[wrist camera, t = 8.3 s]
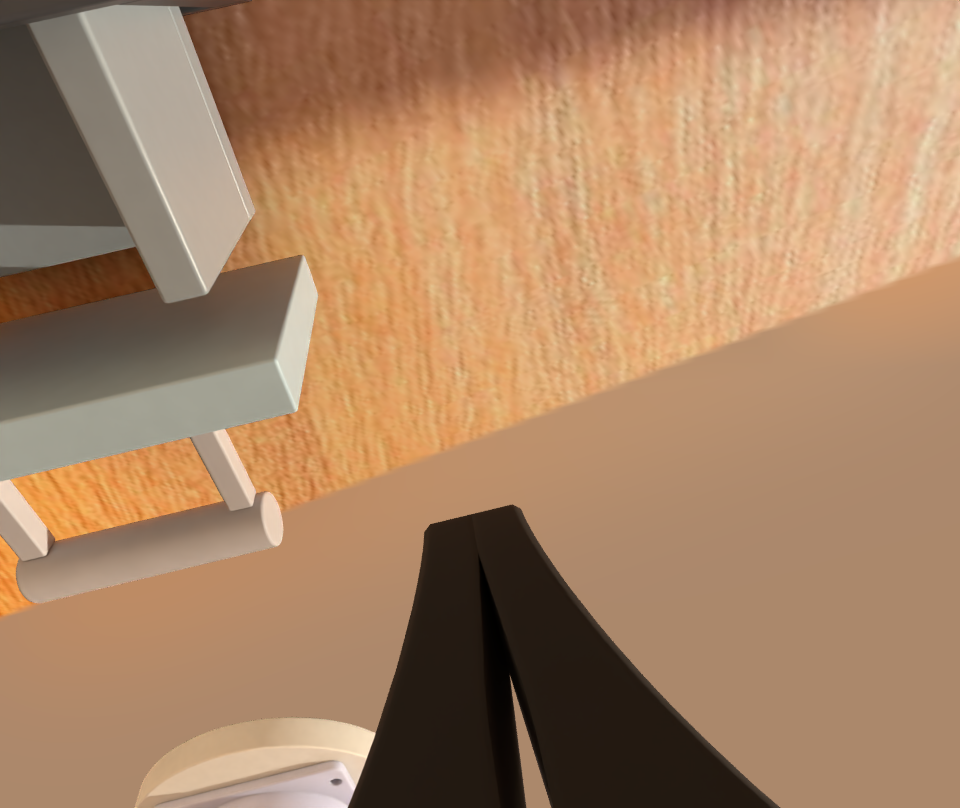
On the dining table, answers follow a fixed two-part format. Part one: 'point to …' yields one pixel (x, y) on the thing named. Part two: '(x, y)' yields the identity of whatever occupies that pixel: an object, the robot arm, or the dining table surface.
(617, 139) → the dining table surface
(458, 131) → the dining table surface
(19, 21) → the box
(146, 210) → the tray
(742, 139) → the dining table surface
